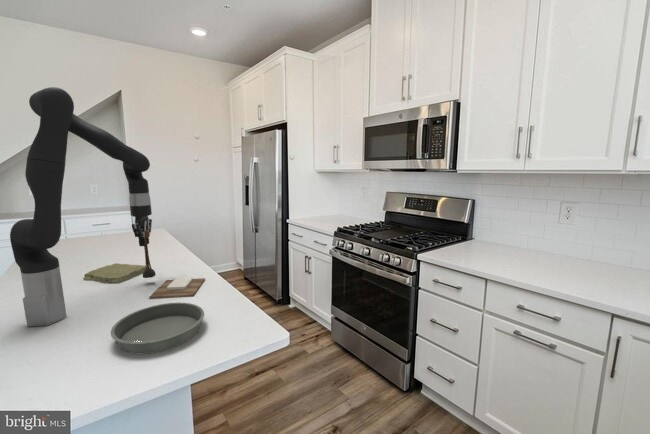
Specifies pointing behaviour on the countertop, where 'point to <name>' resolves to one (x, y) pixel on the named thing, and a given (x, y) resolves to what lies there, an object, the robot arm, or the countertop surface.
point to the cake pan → (158, 327)
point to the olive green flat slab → (114, 273)
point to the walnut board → (188, 292)
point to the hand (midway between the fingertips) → (144, 244)
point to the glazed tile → (179, 284)
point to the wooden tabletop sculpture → (147, 260)
